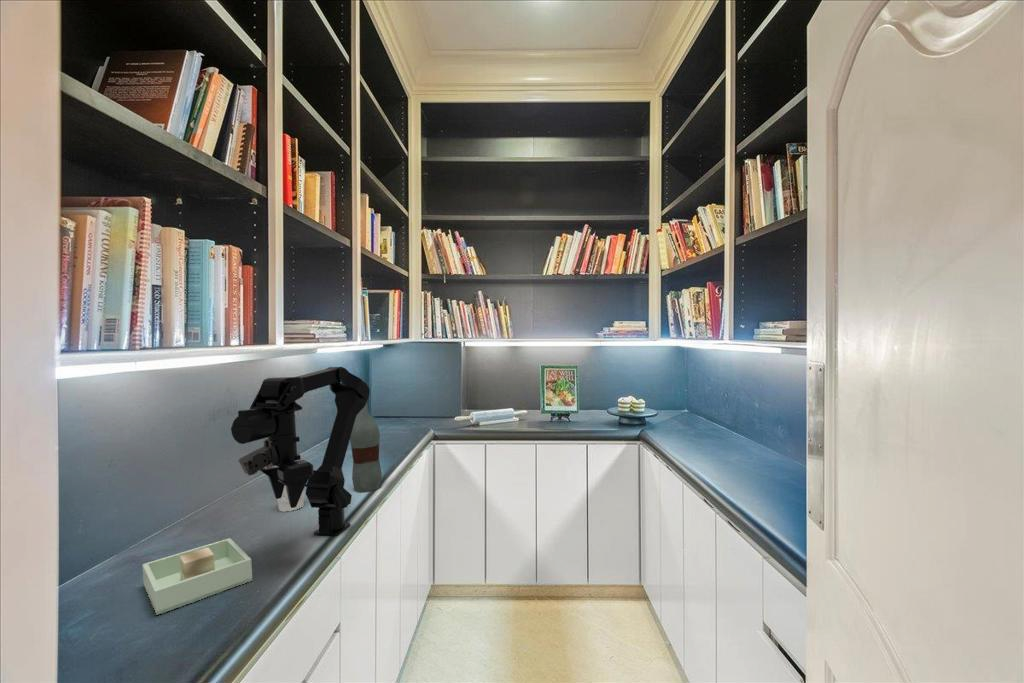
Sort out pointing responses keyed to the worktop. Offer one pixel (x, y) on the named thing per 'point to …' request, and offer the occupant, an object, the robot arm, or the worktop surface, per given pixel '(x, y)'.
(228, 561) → the sage bin
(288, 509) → the white cup
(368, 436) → the bottle
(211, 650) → the worktop surface
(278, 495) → the robot arm
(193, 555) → the birch block
